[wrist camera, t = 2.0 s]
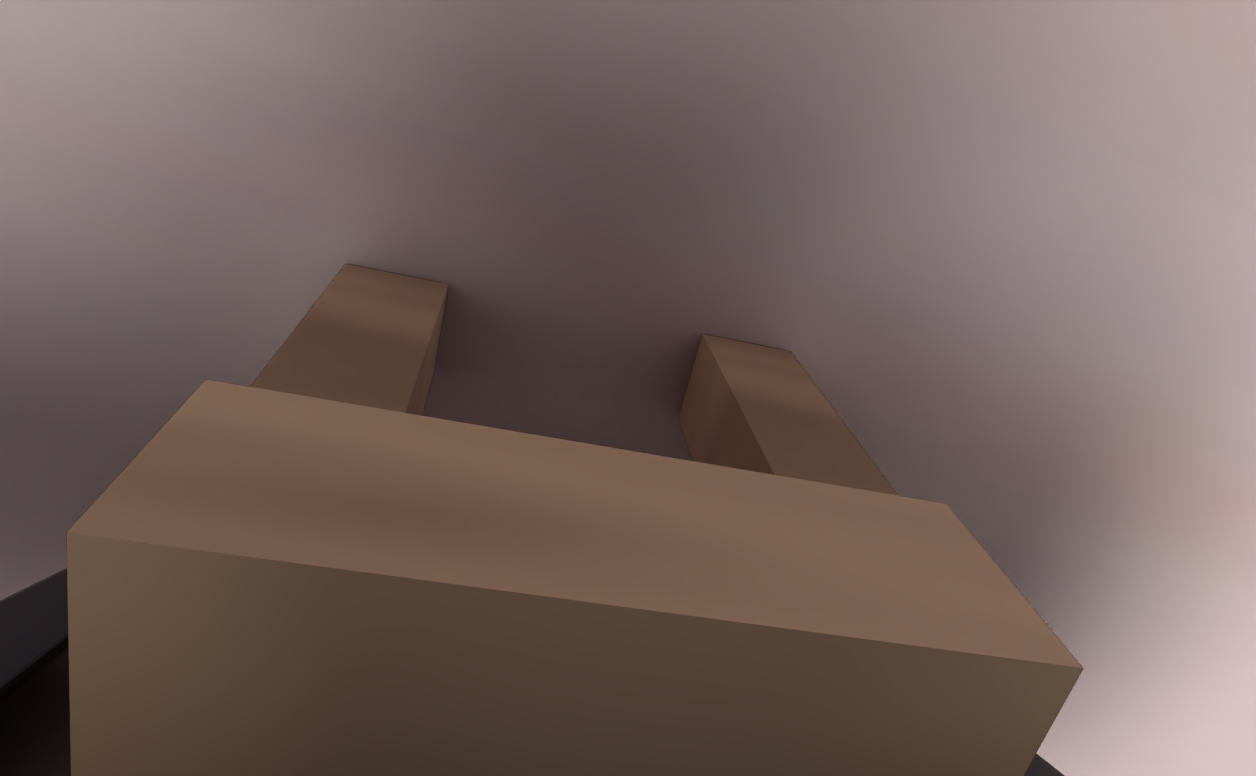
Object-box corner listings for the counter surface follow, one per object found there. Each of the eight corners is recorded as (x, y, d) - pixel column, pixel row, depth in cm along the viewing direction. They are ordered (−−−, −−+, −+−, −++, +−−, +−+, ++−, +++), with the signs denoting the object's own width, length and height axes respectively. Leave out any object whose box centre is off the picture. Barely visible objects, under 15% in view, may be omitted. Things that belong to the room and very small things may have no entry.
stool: (689, 695, 13) (796, 1181, 8) (286, 649, 12) (77, 1176, 7) (810, 339, 11) (1083, 668, 5) (329, 243, 10) (67, 534, 4)
